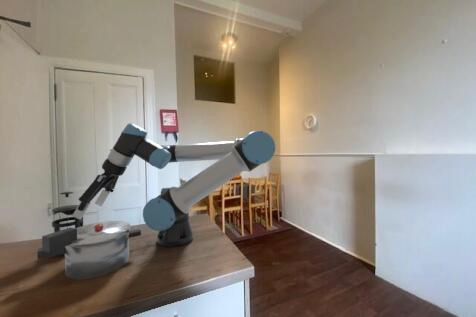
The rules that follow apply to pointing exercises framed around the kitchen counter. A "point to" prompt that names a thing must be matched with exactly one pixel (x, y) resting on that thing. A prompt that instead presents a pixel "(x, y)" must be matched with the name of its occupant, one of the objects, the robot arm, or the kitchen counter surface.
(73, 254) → the pressure cooker pot
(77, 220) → the french press
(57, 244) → the lid
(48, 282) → the kitchen counter surface
